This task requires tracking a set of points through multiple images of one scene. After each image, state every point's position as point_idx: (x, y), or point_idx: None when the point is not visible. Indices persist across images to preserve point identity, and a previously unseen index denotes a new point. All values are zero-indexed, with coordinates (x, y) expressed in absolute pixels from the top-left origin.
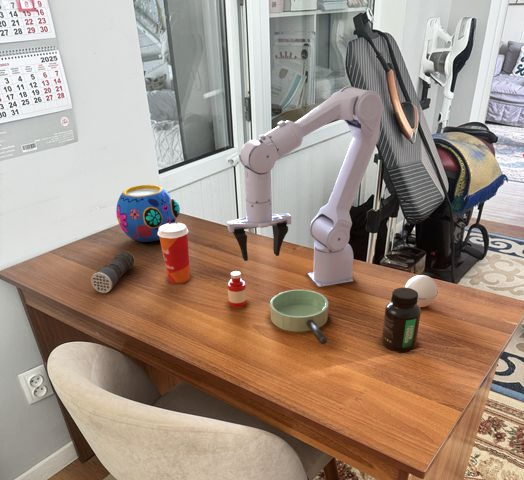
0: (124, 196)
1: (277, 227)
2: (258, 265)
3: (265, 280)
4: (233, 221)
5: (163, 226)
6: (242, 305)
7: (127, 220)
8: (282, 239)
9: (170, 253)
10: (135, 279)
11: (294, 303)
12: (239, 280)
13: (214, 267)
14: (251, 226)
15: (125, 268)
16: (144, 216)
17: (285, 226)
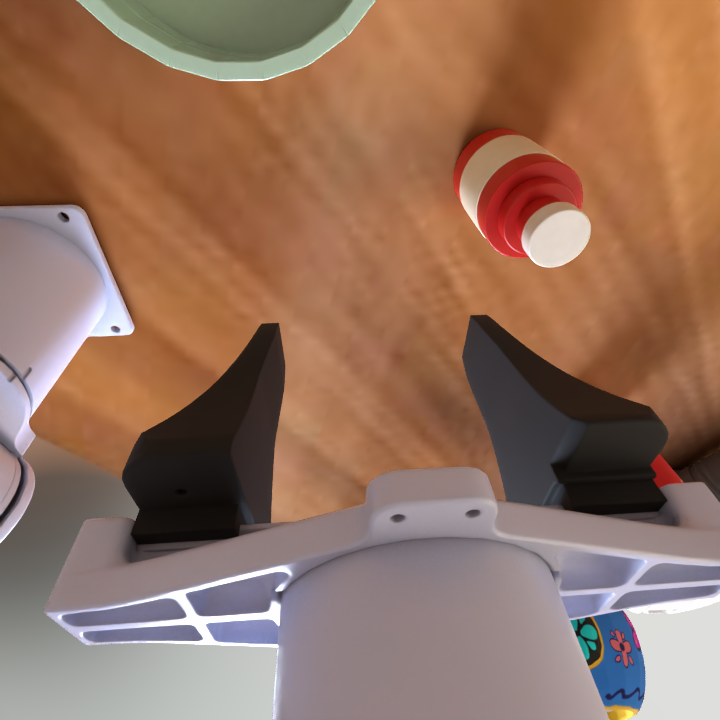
0: (640, 706)
1: (238, 491)
2: (312, 429)
3: (314, 335)
4: (654, 594)
5: (707, 600)
6: (491, 134)
7: (629, 628)
8: (213, 391)
9: (677, 479)
10: (683, 433)
11: (227, 50)
12: (534, 202)
13: (449, 445)
14: (550, 511)
15: (710, 471)
16: (599, 638)
17: (151, 494)
